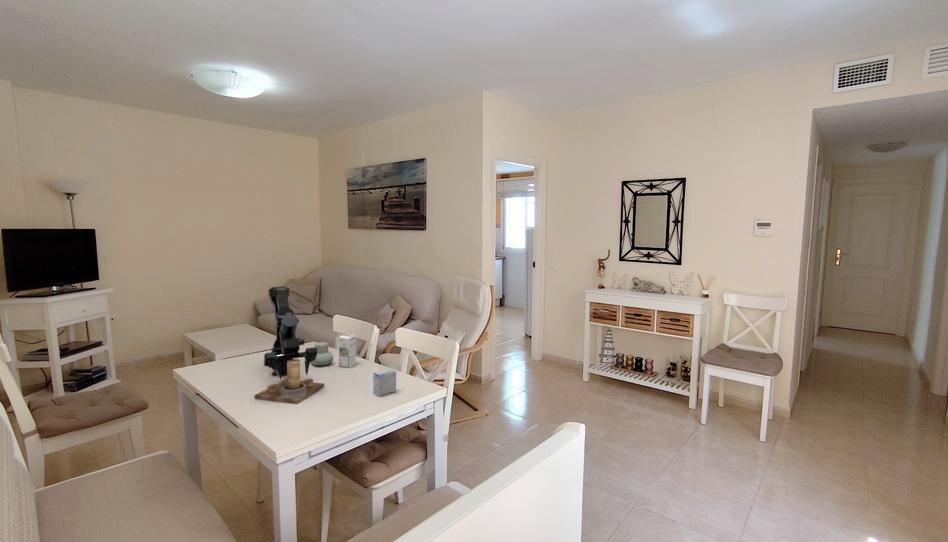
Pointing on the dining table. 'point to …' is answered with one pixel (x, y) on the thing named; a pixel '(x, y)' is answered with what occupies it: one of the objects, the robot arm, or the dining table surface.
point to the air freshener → (322, 354)
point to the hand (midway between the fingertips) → (294, 376)
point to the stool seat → (289, 391)
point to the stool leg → (293, 374)
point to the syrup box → (347, 351)
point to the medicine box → (384, 382)
